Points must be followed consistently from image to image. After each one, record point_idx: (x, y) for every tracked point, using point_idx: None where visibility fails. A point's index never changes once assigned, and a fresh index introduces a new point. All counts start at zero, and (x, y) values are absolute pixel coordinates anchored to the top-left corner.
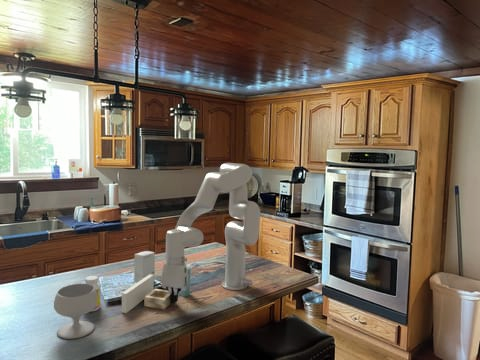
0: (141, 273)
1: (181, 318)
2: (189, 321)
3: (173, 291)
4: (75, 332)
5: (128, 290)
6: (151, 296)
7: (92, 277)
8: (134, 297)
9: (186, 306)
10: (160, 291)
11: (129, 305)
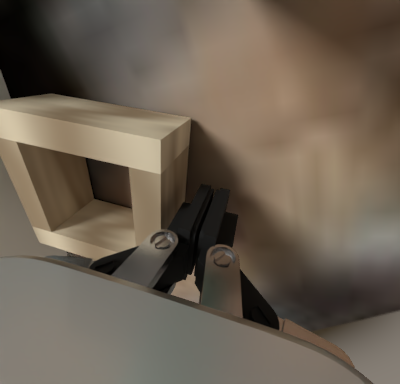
0: None
1: (289, 301)
2: (333, 323)
3: (181, 265)
4: None
5: None
6: (66, 239)
7: None
8: (7, 240)
9: (308, 192)
10: (53, 148)
11: (43, 255)
